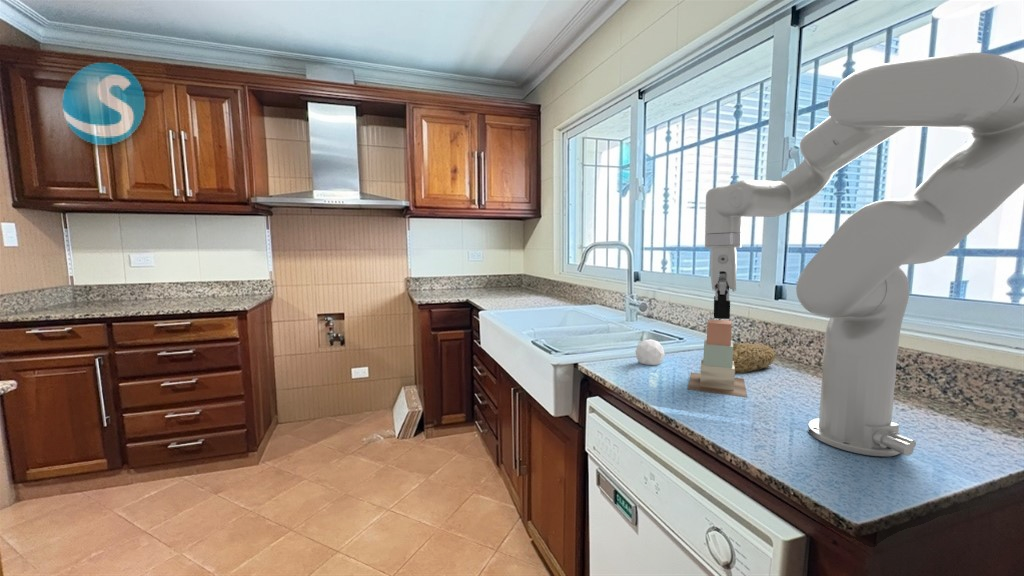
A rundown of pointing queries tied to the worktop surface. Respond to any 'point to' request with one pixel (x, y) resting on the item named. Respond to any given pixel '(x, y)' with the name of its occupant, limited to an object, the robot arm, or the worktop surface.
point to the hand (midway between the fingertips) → (721, 315)
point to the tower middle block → (718, 355)
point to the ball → (649, 352)
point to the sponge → (751, 357)
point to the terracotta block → (719, 332)
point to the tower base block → (717, 377)
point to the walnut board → (738, 388)
